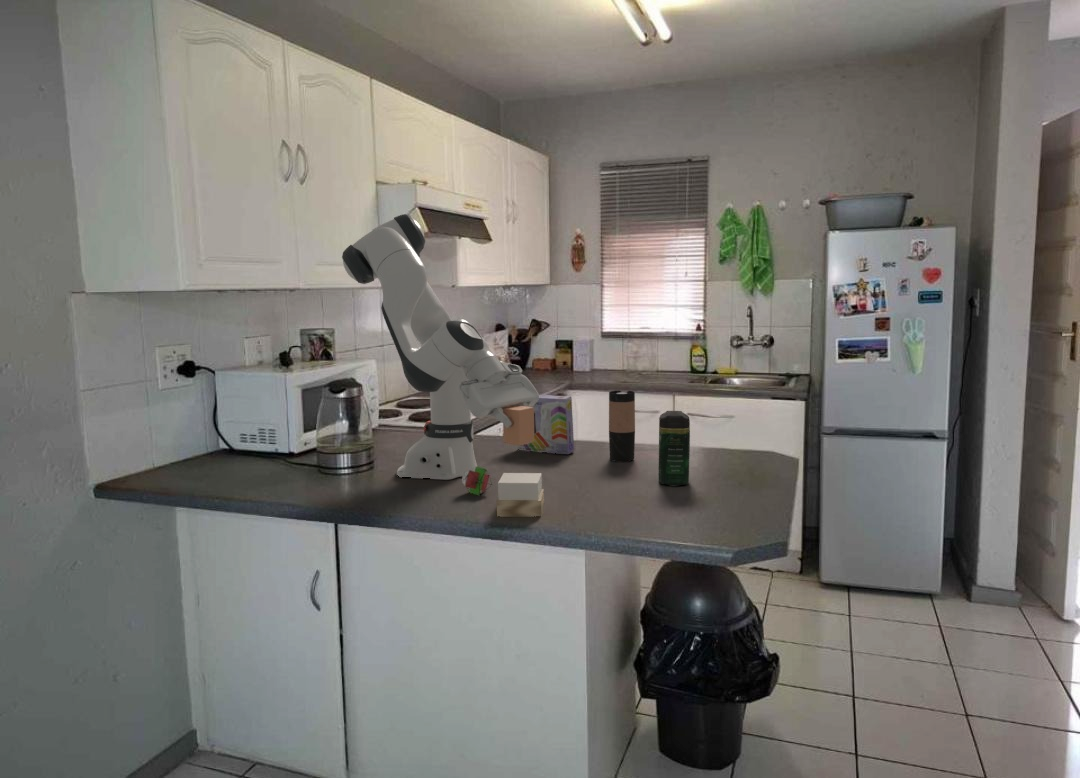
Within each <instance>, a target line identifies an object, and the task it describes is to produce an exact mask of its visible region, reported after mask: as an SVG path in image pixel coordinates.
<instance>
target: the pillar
mask: <svg viewBox="0 0 1080 778" xmlns="http://www.w3.org/2000/svg"><path fill="white" fill-rule="evenodd" d="M503 413H504V414H505V415H506V416H507V417H511V418H512V420H513V421H514V425H513V426H512V427H509V428H506V427H505V426H504V424H503V423H502V428H503V429H502V431H503V432H502V433H503V434H502V435H503V439H502V440H503V443H504V444H509V445H513V446H514V445H515V446H517V445H519V446H520V445H524V444H528V443H532V442H534V407H527V406H519V405H517V406H512V407H507V408H503Z"/></svg>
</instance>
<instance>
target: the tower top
mask: <svg viewBox="0 0 1080 778" xmlns="http://www.w3.org/2000/svg"><path fill="white" fill-rule="evenodd" d="M542 489H543V477H542V473H541V472H539V473H538V472H537V473H536V472H503V473H502V475H501V477H500V479H499V480H498V482H497V491H498V492H497V493H498V494H497V499H498V500H536V501H538V500H539V497H540V494H541V491H542Z"/></svg>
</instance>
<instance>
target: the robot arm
mask: <svg viewBox="0 0 1080 778" xmlns="http://www.w3.org/2000/svg"><path fill="white" fill-rule="evenodd" d="M425 243H426V238H425V233H424V230H423V228H422V226H421V224H420V223H419V222H418V221H417V220H416V219H415V218H414V217H412V216H411V215H409V214H406V213H405V214H400V215H397V216H395V217H393V219H392V220H391V219H390V220H389V221H386V222H384V223H382V224H380V225H378V226H376V227H375V228H373V229H371V231H369V232H368V233H366V234H364V235H363V236H362V237H360V239H358V240H356V241H355V242H354V243H353V244H350V245H348V247H346V249H344V250H343V252H342V256H341V258H342V263H343V268H344V269H345V271H346V274H348V276H349V277H350V278H351V279H353V280H354V281H356V282H357V283H358V284H361V285H362V284H363V285H366V284H369V283H372V282H375V279H378V281H379V282H380V285H381V290H382V302H381V307H380V308H381V313H382V315H383V319H384V321H385V322H384V323H385V324H386V326H387V330H388V332H389V334H390V336H391V339H392V341H393V343H394V346H395V348H396V350H397V353H398V356H399V358H400V361H401V366H402V370H403V374H404V377H405V378H406V380H407V382H408V383H409V384H410V386H411V387H412V388H414V389H415V390H416V391H418V392H420V393H429V403H430V405H429V406H430V408H429V409H430V420H428V421H426V422H425V423H424V426H423V433H424V435H423V436H422V437H421V438H420V439H418V441H416V442H415V443H414V444H413V445H412V446H411V447H410V448H409V449H408V450H407V452H406V453H405V457H404V464H402V465H401V466H400V467H398V468H397V470H396V476H397V475H398V476H399V478H402V477H411V478H410V479H423V478H430V479H429V480H445V481H447V480H449V481H450V480H453V479H456V478H459V477H461V478H462V477H463V474H464V472H467V471H469V470H470V471H474V472H475V468H476V467H478V464H477V461H476V456H475V452H474V446H473V444H474V443H473V440H474V424H473V420H472V416H474V417H476V418H477V419H479V418H486V417H489V416H492V417H494V419H496V420H497V421H498V422H501V424H502V425H503V424H504V426H505V427H506V428H509V427H512V426H513V425H514V421H513V420H512V418H511V417H507V416H506V415H505V414H504V413H503V408H507V407H512V406H517V405H519V406H527V407H533V406H534V405H535V404H536V402H537V401H538V400H539V395H540V394H539V392H538V390H537V388H536V387H535V386H534V384H533V383H532V382H531V380H530V379H529V378H528V377H527V376H526V375H524V374H522V373H523V369H522V368H521V366H520V365H517V364H514V363H513V364H512V363H509V362H506V361H502V360H499V358H498V357H497V355H496V354H494V353H493V352H492V351H491V349H490V347H489V344H488V342H487V341H486V340H485V339H484V337H483V336H482V335H481V333H480V332H479V331H478V330H477V329H476V327H474V326H473V325H472V324H471V323H470V322H469V321H467V319H461V318H459V319H454V320H453V319H452V317H451V316H450V314H449V313H448V311H447V310H446V308H445V306H444V305H443V303H442V302H441V301H440V299H439V297H438V296H437V294H436V292H435V291H434V290H433V287H431V285H430V283H429V282H428V271H427V268H426V267H425V264H424V263H423V260H422V259H421V255H420V254H421V252H422V251H423V250H424V248H425ZM418 342H419V343H418ZM419 344H420V345H421V346H419ZM471 415H472V416H471ZM473 468H474V469H473ZM468 474H469V472H468ZM468 474H467V476H468ZM398 476H397V477H398Z"/></svg>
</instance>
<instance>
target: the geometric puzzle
mask: <svg viewBox="0 0 1080 778" xmlns="http://www.w3.org/2000/svg"><path fill="white" fill-rule="evenodd" d="M473 469H474V468H473ZM468 472H469V474H468ZM467 474H468V475H467ZM490 475H491V474H489V473H488V470H487V468H483V467H479V466H477V467H476V468H475V472H474V471H470V470H469V471H467V472H464V474H463V476H461V478H462V479H461V484H463V486H464V487H465V489H467V491H468V493H469V492H470V494H472V493H473V495H475V496H478V497H480V496H481V495H483V493H485V492H486V491H487V490H488V489H489V487H488V485H490V486H493V482H490V483H489V480H490V477H491V476H490ZM480 491H482V493H481V492H480Z"/></svg>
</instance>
